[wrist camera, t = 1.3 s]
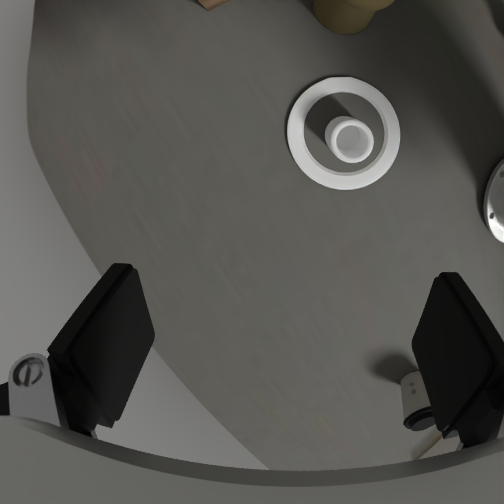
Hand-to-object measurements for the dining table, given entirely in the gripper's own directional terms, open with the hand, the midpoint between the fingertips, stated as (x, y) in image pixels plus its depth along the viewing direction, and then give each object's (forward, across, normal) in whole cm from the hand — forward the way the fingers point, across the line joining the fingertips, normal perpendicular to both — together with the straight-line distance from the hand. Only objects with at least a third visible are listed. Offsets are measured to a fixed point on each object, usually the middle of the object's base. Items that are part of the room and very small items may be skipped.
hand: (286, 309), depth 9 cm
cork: (+25, -6, -16) cm, 30 cm away
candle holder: (+25, -6, -2) cm, 26 cm away
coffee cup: (+25, -25, +38) cm, 51 cm away
